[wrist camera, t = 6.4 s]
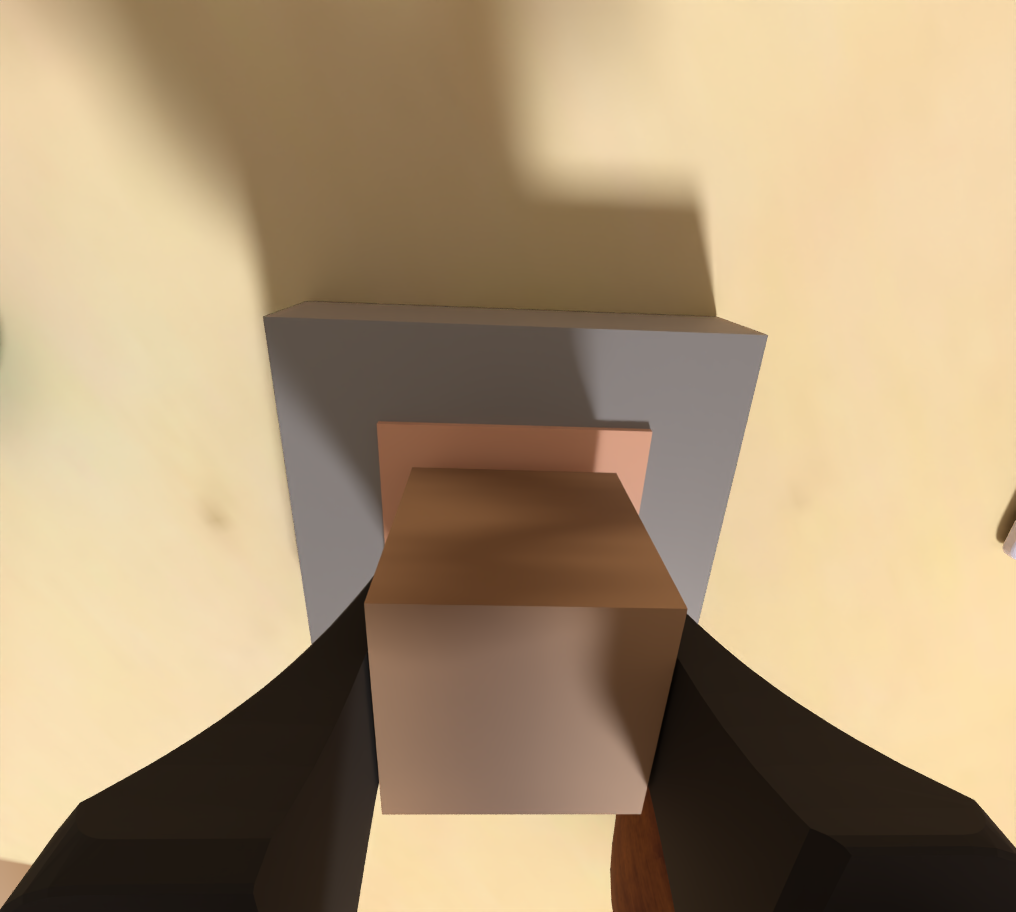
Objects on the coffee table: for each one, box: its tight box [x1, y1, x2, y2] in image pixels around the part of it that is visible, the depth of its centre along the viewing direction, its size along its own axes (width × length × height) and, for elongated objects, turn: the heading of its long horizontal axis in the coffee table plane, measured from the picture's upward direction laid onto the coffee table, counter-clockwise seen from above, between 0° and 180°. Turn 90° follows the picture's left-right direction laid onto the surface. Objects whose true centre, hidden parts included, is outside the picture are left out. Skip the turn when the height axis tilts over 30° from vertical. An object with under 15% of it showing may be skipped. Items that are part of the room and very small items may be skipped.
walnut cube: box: [364, 467, 688, 814], centre depth 11 cm, size 5×5×5 cm
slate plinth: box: [263, 301, 768, 644], centre depth 16 cm, size 12×12×3 cm
